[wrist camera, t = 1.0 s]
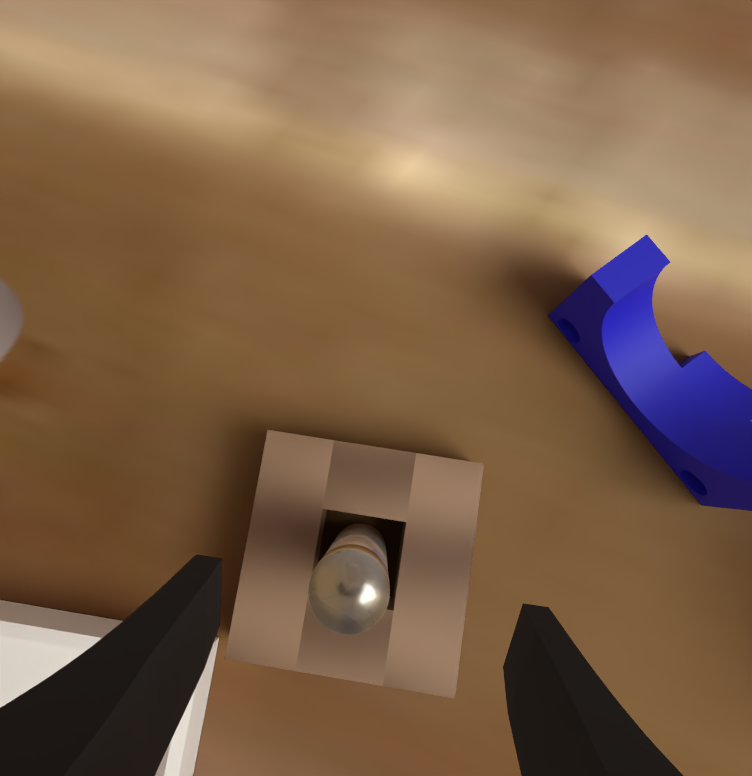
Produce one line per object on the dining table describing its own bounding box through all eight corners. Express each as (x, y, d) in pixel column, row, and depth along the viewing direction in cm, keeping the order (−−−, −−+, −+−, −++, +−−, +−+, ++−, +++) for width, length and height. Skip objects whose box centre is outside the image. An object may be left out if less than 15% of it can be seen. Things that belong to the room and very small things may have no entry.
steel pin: (382, 582, 26) (382, 641, 17) (328, 574, 26) (301, 627, 17) (390, 527, 26) (395, 556, 17) (337, 518, 26) (315, 542, 17)
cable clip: (767, 451, 27) (876, 445, 21) (699, 505, 26) (790, 514, 21) (612, 268, 28) (673, 214, 22) (546, 316, 28) (591, 274, 22)
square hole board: (447, 675, 25) (454, 698, 23) (239, 640, 25) (224, 658, 23) (474, 464, 27) (484, 463, 24) (277, 433, 27) (267, 429, 24)
